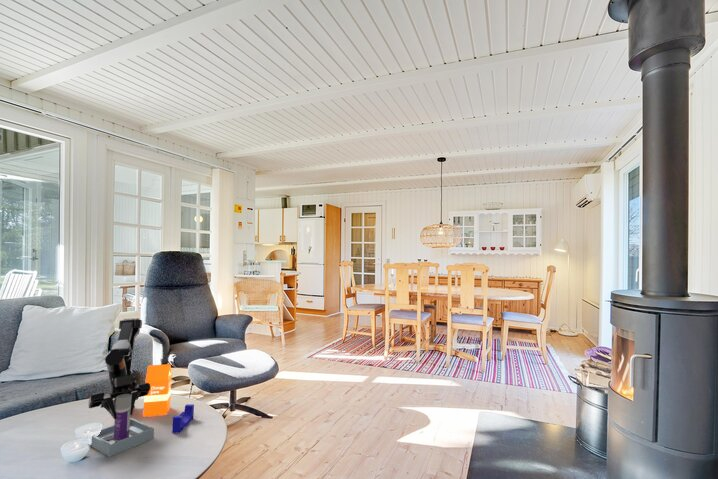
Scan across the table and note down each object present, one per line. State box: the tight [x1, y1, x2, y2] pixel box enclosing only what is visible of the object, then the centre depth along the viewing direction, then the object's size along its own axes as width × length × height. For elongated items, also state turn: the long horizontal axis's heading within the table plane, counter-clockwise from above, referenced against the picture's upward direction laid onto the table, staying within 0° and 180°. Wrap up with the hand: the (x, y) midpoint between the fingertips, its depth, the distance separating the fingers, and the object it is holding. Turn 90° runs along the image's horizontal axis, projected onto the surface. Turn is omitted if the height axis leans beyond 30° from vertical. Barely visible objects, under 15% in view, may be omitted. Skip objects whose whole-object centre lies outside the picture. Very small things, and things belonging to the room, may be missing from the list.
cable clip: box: [171, 403, 195, 434], centre depth 143 cm, size 12×4×6 cm, turn 2°
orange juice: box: [142, 363, 173, 418], centre depth 154 cm, size 8×9×20 cm
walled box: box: [91, 417, 155, 457], centre depth 130 cm, size 15×15×4 cm
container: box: [113, 394, 131, 442], centre depth 131 cm, size 5×5×15 cm
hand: (123, 416), depth 130 cm, fingers closed on container, 5 cm apart
